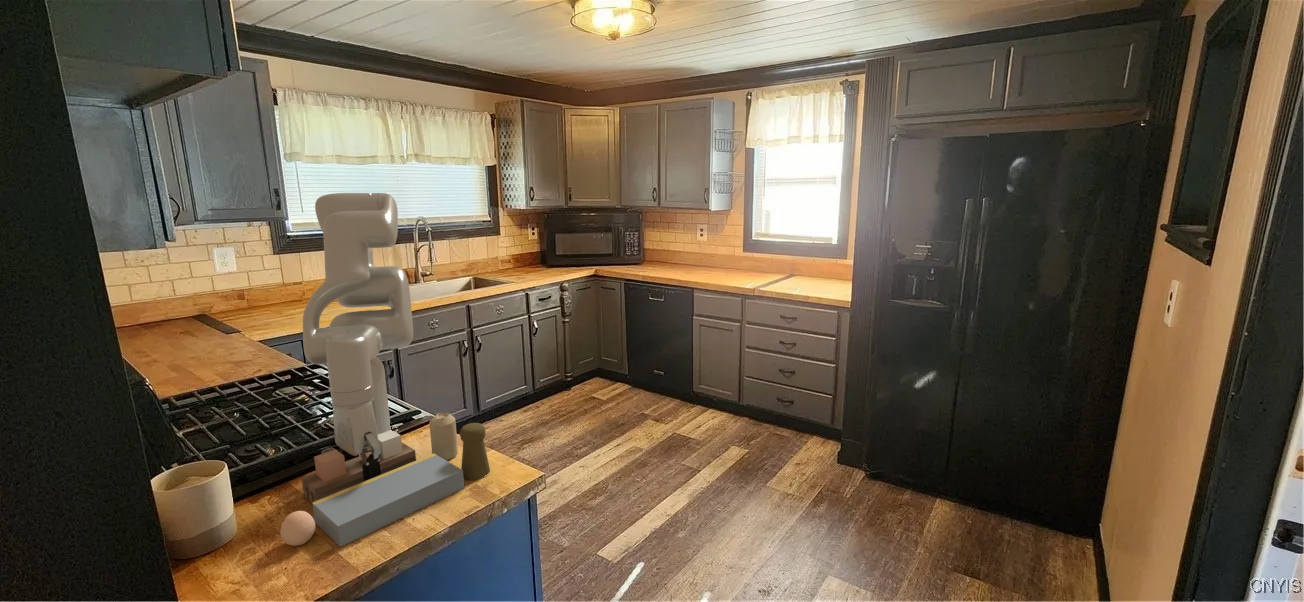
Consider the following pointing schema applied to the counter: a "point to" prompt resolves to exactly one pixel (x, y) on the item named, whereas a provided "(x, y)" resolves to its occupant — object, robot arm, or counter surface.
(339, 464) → the salmon pink cube
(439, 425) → the candle
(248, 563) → the counter surface
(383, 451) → the white cube
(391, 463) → the brown wooden bar
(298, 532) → the egg
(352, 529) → the block
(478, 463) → the olive pepper mill
